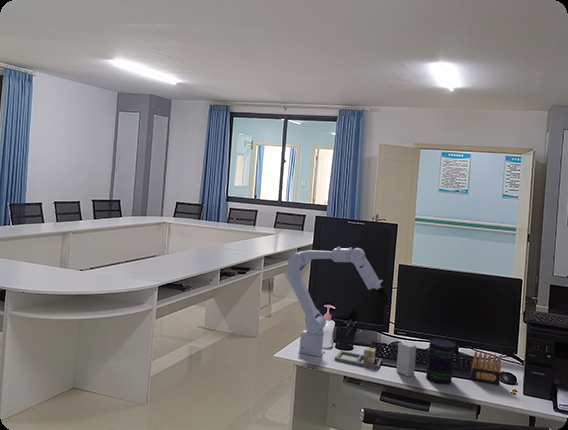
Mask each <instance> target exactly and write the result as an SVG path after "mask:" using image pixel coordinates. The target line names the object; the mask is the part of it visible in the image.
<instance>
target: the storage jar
mask: <svg viewBox="0 0 568 430" xmlns="http://www.w3.org/2000/svg"><path fill="white" fill-rule="evenodd" d="M455 355H456V343H455V342H453V341H451V340H449V339H444V338H430V339H429V346H428V361H427V365H426V370H425V371H426V376H425V379H426V380H427V381H429V382H431V383H433V384H436V385H442V386H445V385H451V384H452V379H453V371H454V368H453V366H454V365H453V364H454V360H455Z"/></svg>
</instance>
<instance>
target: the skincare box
mask: <svg viewBox="0 0 568 430" xmlns="http://www.w3.org/2000/svg"><path fill="white" fill-rule="evenodd" d="M416 353H417V345H415V344H413V343H409V342H408V341H402V342H401V341H400V342H398V344H397V357H396V370H395V371H396V373H399V374H401V375H404V376H406V377H413V376H414V375H415V367H416V358H417V357H416V355H417V354H416Z"/></svg>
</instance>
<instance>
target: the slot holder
mask: <svg viewBox="0 0 568 430" xmlns="http://www.w3.org/2000/svg"><path fill="white" fill-rule="evenodd" d="M363 356H364V354H359V353H355V352H351V351H350V352H349V351H346V350H340V351H339V352H338V353H337V355H335V357H334V361H335V362H340V363H346V364H350V365H354V366H360V367H364V368H369V369H373V370H378V369H379V368H380V366H381V365H382V363H381V361H382V362H383V358H380V357H375V358H376V359H378V358H379V361H378V362H377V363H376V364H373V365H372V364H367V363H363V361H362V360H363Z"/></svg>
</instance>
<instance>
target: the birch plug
mask: <svg viewBox="0 0 568 430" xmlns="http://www.w3.org/2000/svg"><path fill="white" fill-rule="evenodd" d="M376 350H377V348H373V347H367V346H365V348H364V349H363V355H364V356H363V358H362V363H367V364H372V365H375V362H376V361H375V358H376Z"/></svg>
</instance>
